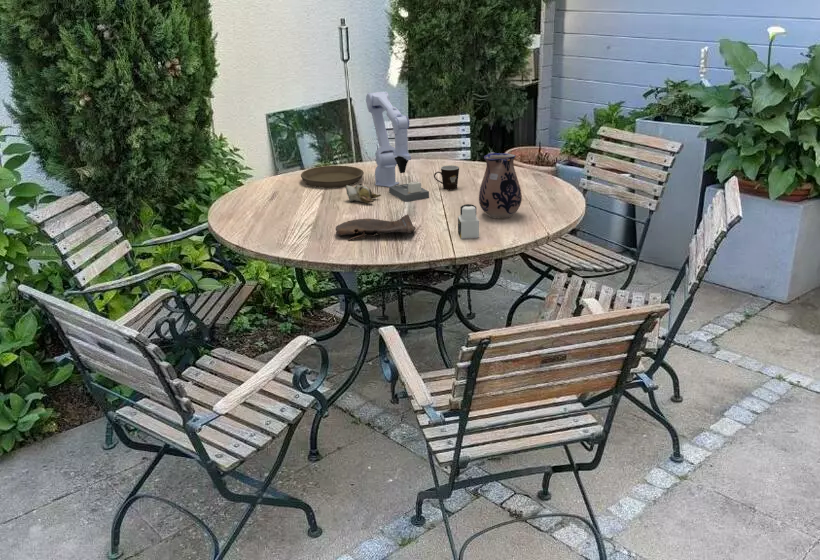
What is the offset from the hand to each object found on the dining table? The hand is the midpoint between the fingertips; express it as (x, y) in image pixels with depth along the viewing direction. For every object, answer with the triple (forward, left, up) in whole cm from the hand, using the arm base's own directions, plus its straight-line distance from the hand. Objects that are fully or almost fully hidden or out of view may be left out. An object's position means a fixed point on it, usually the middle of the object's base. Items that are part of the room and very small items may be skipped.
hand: (402, 172), depth 332 cm
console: (+5, -3, -9) cm, 11 cm away
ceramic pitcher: (+53, -12, -10) cm, 55 cm away
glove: (+20, -53, -10) cm, 58 cm away
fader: (+10, -6, -6) cm, 14 cm away
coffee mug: (+16, +15, -10) cm, 23 cm away
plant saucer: (-43, +2, -10) cm, 44 cm away
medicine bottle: (+54, -40, -10) cm, 68 cm away
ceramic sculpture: (-9, -20, -10) cm, 24 cm away
